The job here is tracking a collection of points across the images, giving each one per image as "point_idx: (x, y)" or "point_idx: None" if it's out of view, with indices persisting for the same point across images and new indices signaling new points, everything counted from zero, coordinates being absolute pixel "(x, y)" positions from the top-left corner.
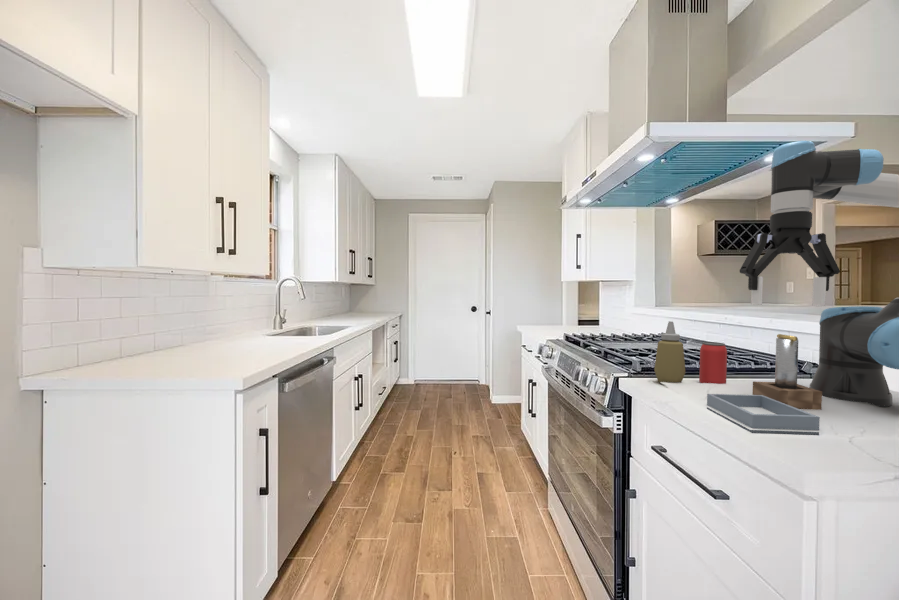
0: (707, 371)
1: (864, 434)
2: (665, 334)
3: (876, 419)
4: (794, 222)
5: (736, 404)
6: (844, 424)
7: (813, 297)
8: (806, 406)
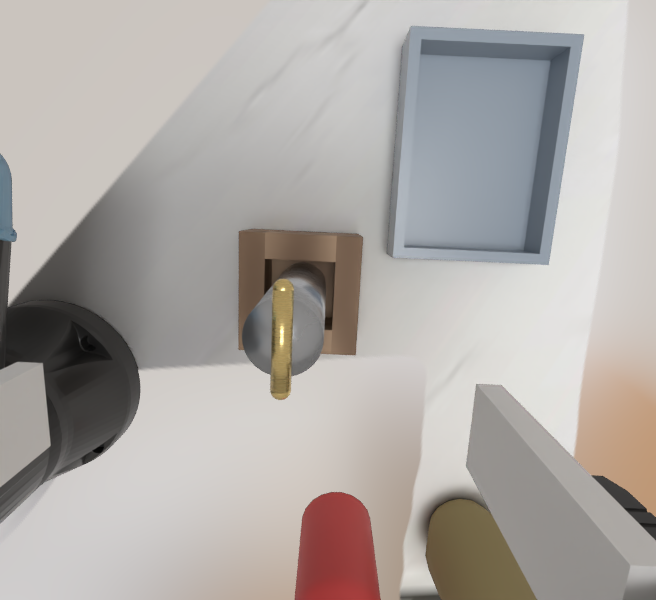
0: (366, 533)
1: (281, 61)
2: None
3: (144, 190)
4: None
5: (463, 248)
6: (263, 141)
7: (4, 474)
8: (287, 231)
